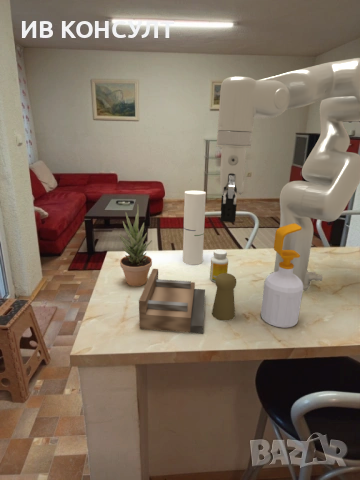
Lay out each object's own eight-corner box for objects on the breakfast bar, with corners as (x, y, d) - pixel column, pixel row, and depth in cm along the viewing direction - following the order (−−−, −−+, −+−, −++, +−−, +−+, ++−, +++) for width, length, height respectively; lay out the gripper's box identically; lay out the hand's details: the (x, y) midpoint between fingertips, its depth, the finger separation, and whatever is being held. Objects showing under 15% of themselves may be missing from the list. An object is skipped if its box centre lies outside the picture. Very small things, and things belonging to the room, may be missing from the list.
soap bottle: (304, 327, 77) (321, 231, 69) (267, 329, 76) (280, 231, 68) (288, 308, 85) (302, 220, 77) (255, 309, 84) (265, 220, 76)
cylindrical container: (184, 256, 118) (185, 190, 110) (203, 258, 117) (206, 190, 109) (181, 264, 112) (183, 193, 103) (201, 265, 111) (205, 194, 102)
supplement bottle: (206, 277, 102) (208, 249, 99) (220, 274, 104) (222, 247, 101) (215, 284, 97) (217, 255, 94) (230, 281, 99) (232, 253, 96)
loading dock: (204, 295, 90) (206, 271, 88) (203, 333, 74) (204, 305, 71) (153, 292, 92) (152, 268, 89) (139, 328, 75) (138, 300, 72)
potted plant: (128, 292, 92) (125, 208, 84) (116, 279, 99) (112, 202, 91) (158, 284, 97) (158, 205, 89) (145, 272, 104) (143, 198, 96)
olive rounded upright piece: (234, 308, 84) (237, 271, 81) (236, 321, 78) (239, 281, 75) (211, 307, 85) (214, 269, 81) (211, 319, 79) (214, 280, 75)
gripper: (255, 141, 61) (246, 227, 66) (248, 140, 77) (241, 209, 82) (216, 140, 62) (210, 224, 67) (217, 139, 78) (212, 207, 83)
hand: (227, 216), depth 75 cm, fingers open, 9 cm apart
